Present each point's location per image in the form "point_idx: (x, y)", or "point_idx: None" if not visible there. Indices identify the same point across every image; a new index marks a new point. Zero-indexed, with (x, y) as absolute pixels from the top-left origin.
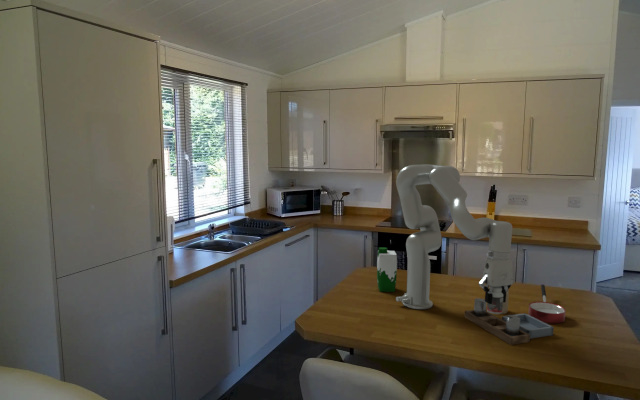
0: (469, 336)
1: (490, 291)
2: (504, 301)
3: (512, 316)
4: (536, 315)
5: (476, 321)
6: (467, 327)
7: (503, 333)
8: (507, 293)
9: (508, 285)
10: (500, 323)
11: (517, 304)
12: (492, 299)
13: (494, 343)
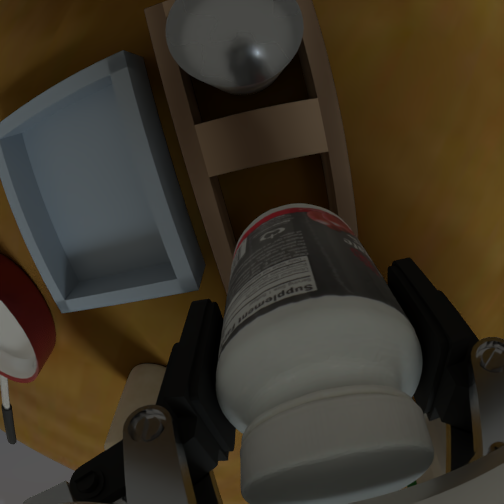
0: (460, 128)
1: (485, 373)
2: (207, 303)
3: (232, 42)
4: (25, 299)
5: None
6: (416, 233)
7: (320, 34)
8: (112, 441)
9: (103, 493)
10: (230, 236)
11: (84, 407)
12: (395, 300)
13: (378, 20)
